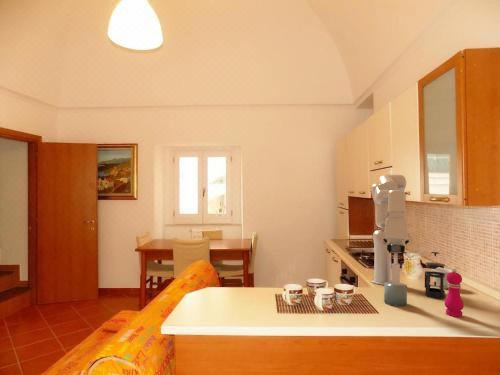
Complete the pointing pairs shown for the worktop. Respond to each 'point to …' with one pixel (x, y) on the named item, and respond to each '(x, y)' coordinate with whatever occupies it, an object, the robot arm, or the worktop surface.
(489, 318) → the worktop surface
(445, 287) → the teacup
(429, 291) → the french press
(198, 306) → the worktop surface
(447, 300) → the pepper mill
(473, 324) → the worktop surface
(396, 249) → the pump head
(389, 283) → the syrup pump bottle
